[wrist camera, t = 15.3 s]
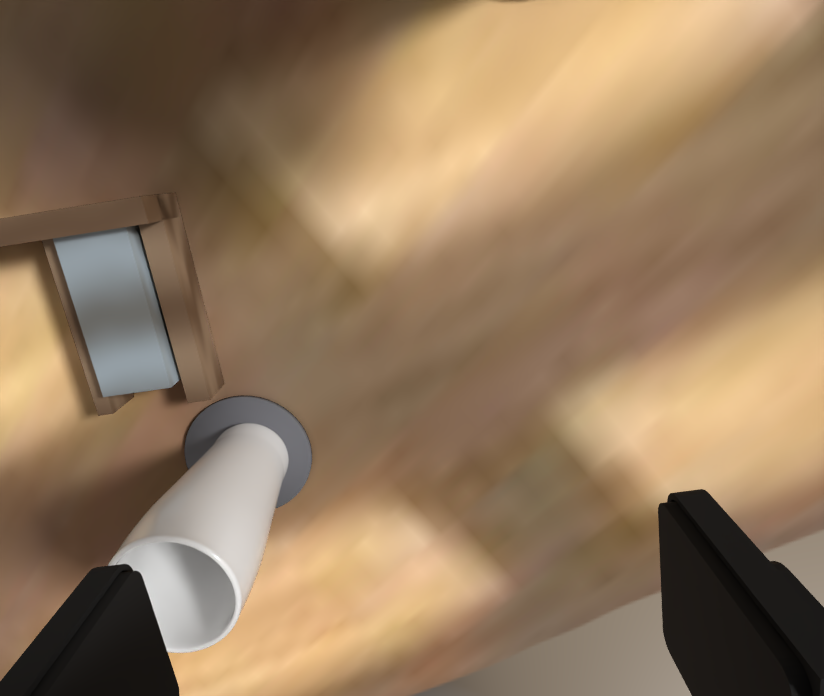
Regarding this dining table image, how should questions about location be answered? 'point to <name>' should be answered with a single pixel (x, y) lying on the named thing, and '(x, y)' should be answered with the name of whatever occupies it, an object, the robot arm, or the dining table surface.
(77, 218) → the walnut cubby
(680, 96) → the dining table surface
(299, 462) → the felt coaster
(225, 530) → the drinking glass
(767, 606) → the robot arm
